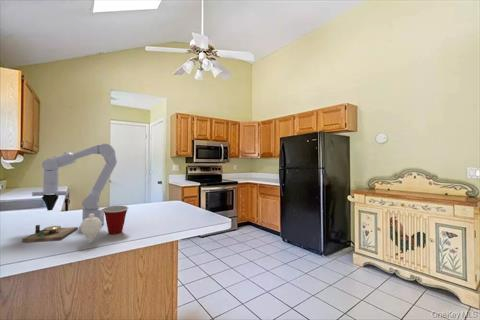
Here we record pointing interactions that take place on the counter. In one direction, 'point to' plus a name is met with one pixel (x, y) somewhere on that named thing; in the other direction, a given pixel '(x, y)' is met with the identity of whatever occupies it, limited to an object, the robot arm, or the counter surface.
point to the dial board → (50, 235)
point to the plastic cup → (115, 218)
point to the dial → (37, 228)
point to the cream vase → (91, 227)
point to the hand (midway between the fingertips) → (50, 210)
